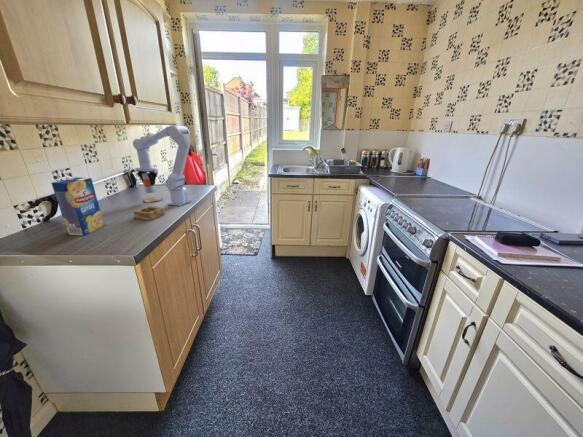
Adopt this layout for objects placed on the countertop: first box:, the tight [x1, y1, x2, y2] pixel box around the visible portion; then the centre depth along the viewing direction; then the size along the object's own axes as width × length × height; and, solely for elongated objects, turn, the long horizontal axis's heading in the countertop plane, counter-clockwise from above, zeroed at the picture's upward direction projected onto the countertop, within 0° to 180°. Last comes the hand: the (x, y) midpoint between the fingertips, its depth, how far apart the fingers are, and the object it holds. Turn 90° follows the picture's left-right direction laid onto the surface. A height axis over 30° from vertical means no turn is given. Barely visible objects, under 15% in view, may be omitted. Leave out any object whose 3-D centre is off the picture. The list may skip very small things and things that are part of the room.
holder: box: [133, 205, 165, 221], centre depth 124 cm, size 9×9×4 cm
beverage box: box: [50, 176, 105, 236], centre depth 103 cm, size 7×11×22 cm, turn 176°
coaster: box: [143, 197, 162, 204], centre depth 150 cm, size 9×9×1 cm
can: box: [142, 172, 156, 194], centre depth 144 cm, size 5×5×11 cm
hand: (149, 184), depth 145 cm, fingers closed on can, 5 cm apart
